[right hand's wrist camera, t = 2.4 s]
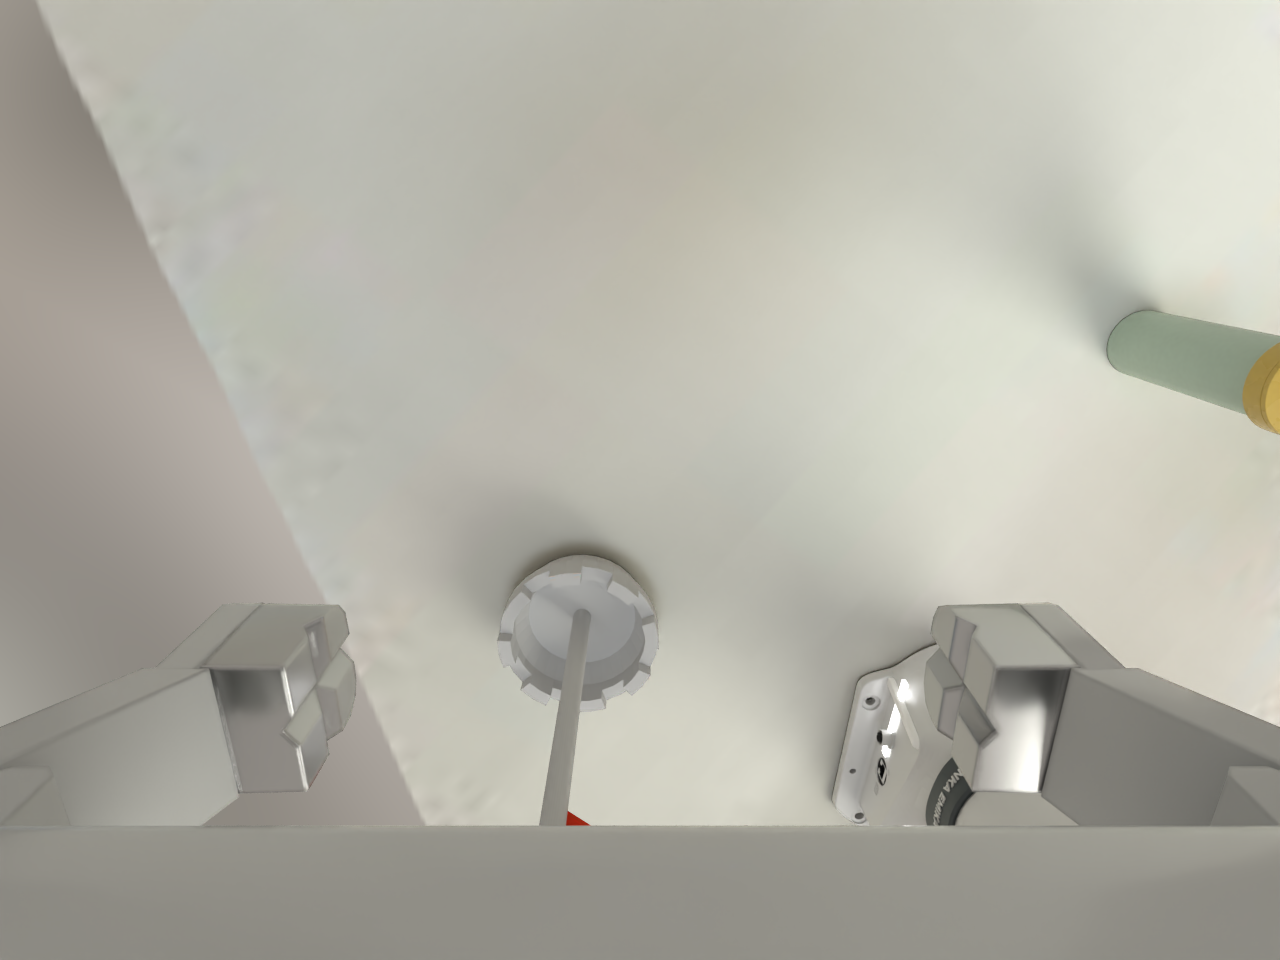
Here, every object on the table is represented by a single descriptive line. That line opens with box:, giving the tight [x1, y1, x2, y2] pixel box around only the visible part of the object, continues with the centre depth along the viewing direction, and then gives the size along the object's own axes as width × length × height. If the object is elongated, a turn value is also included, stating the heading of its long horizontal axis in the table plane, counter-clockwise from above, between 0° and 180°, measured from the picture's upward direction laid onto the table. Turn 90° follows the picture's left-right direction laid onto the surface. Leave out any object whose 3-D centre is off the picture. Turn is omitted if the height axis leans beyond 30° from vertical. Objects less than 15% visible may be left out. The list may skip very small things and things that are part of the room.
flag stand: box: [497, 555, 659, 826], centre depth 50 cm, size 13×13×30 cm
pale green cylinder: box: [1107, 311, 1280, 415], centre depth 49 cm, size 5×5×16 cm
